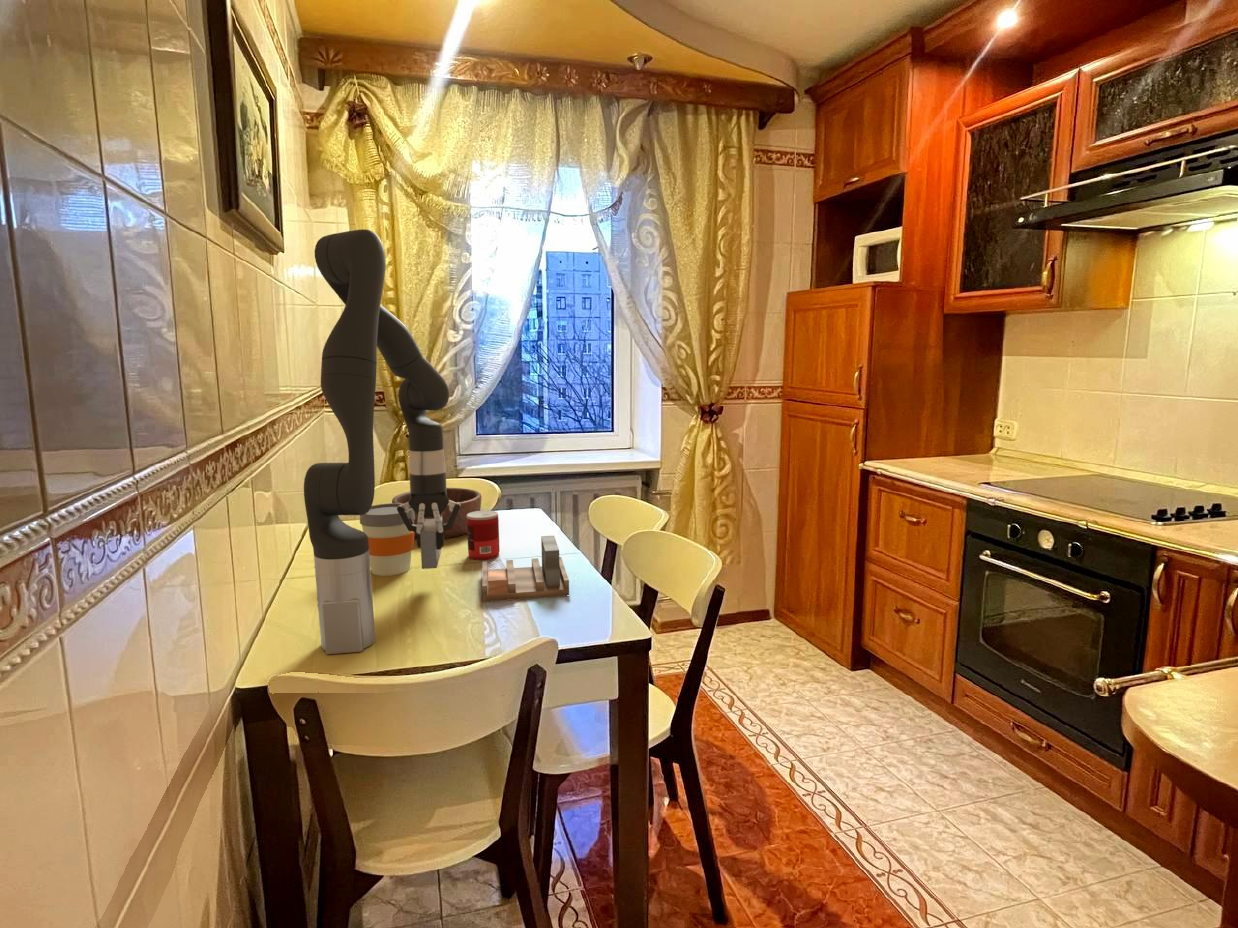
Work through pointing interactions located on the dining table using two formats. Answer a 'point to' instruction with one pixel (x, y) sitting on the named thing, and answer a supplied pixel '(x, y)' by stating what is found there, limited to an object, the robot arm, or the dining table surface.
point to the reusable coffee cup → (388, 539)
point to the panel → (429, 544)
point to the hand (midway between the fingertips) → (431, 548)
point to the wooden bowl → (468, 502)
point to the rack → (528, 577)
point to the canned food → (483, 534)
